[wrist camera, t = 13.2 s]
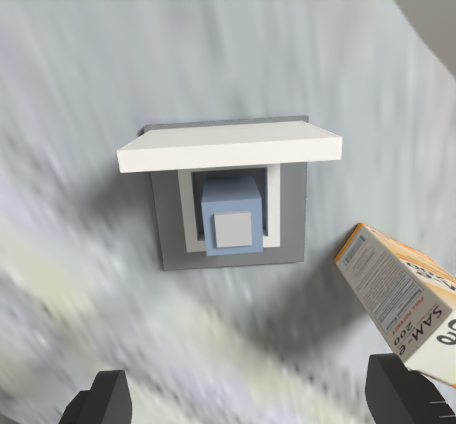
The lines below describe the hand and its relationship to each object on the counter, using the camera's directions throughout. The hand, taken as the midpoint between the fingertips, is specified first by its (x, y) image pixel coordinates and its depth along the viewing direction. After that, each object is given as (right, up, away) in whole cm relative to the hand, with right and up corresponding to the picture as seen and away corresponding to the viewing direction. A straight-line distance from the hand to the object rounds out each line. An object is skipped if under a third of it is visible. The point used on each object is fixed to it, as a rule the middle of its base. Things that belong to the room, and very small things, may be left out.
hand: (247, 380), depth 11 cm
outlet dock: (0, +7, +18) cm, 19 cm away
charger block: (0, +7, +17) cm, 18 cm away
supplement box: (+14, +1, +21) cm, 25 cm away
